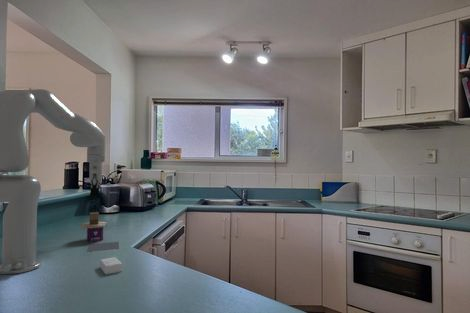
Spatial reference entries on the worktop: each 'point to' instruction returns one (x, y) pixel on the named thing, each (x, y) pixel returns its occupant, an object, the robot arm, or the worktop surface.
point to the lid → (94, 221)
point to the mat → (103, 246)
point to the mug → (94, 234)
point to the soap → (110, 265)
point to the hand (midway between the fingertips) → (94, 196)
